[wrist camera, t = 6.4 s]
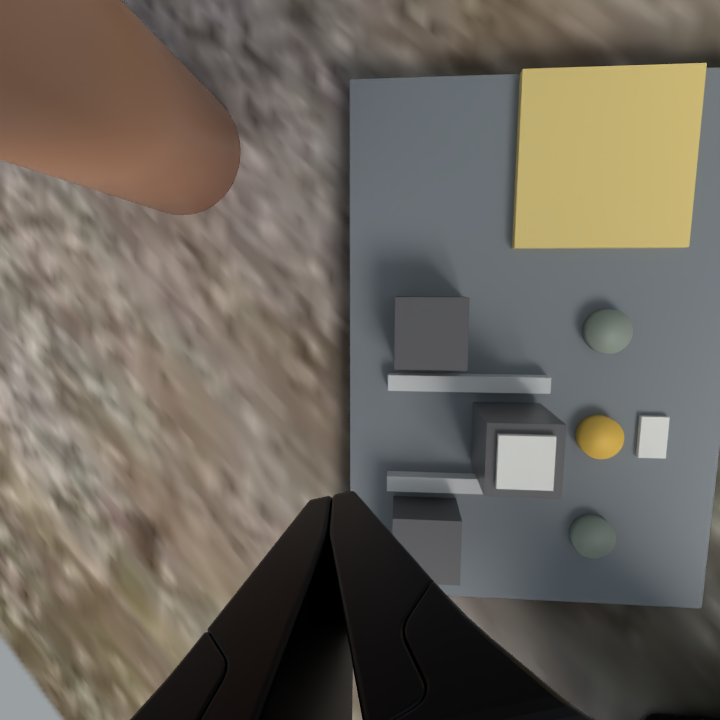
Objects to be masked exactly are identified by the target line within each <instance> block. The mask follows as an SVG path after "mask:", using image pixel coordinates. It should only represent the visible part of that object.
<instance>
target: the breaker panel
mask: <svg viewBox="0 0 720 720" xmlns="http://www.w3.org/2000/svg"><path fill="white" fill-rule="evenodd" d="M706 67H707V63H687V64H657V65H626V66H596V67H565V68H534V69H522V71H521V73H520V74H500V75H469V76H438V77H406V78H375V79H350V491H354V492H356V493H357V494H358V496H359V497H360V498H361V499H362V500H363V501H364V502H365V503H366V505H367V506H368V507H369V508H370V509H371V510H372V511H373V513H374V514H375V515H376V516H377V517H378V518H379V519H380V520H381V522H382V523H383V524H384V525H385V526H386V527H387V528H388V529H389V531H390V532H391V533H392V534H393V535H394V536H395V537H396V539H397V540H398V541H399V542H400V543H401V544H402V545H403V546H404V548H405V549H406V550H407V551H408V552H409V553H410V554H411V556H412V557H413V558H414V559H415V560H416V561H417V562H418V563H419V565H420V566H421V567H422V568H423V569H424V570H425V571H426V572H427V574H428V575H429V576H430V577H431V578H432V579H433V580H434V583H436V584H437V585H438V586H439V587H440V588H441V589H442V590H443V591H444V593H445V594H446V595H447V596H465V597H484V598H504V599H524V600H544V601H564V602H583V603H603V604H623V605H643V606H662V607H682V608H702V600H703V591H704V582H705V573H706V564H707V555H708V546H709V537H710V528H711V519H712V510H713V501H714V492H715V483H716V474H717V466H718V457H719V448H720V67H719V68H706ZM473 402H511V403H541V404H542V405H543V406H544V407H546V408H547V409H548V410H549V411H550V412H552V413H553V414H554V415H555V416H557V417H558V418H559V419H560V420H561V421H563V422H564V423H565V424H566V441H565V457H564V472H563V488H562V499H548V498H519V497H490V496H484V495H483V493H482V490H481V488H480V485H479V483H478V480H477V478H476V475H475V473H474V470H473V468H472V465H471V454H472V426H473Z"/></svg>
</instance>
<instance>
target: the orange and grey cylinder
mask: <svg viewBox="0 0 720 720" xmlns="http://www.w3.org/2000/svg"><path fill="white" fill-rule="evenodd" d="M0 159H1V160H4V161H7V162H10V163H13V164H16V165H19V166H22V167H25V168H29V169H32V170H35V171H38V172H41V173H44V174H47V175H50V176H53V177H57V178H60V179H63V180H66V181H69V182H72V183H75V184H78V185H82V186H85V187H88V188H91V189H94V190H97V191H100V192H103V193H106V194H110V195H113V196H116V197H119V198H122V199H125V200H128V201H131V202H134V203H138V204H141V205H144V206H147V207H150V208H153V209H156V210H159V211H163V212H166V213H170V214H175V215H189V214H194V213H198V212H201V211H204V210H206V209H208V208H210V207H211V206H213V205H214V204H216V203H217V202H218V201H219V200H220V199H221V198H222V197H223V196H224V195H225V194H226V193H227V191H228V190H229V189H230V187H231V185H232V184H233V182H234V179H235V177H236V175H237V171H238V168H239V162H240V141H239V136H238V132H237V129H236V126H235V124H234V122H233V120H232V118H231V116H230V114H229V113H228V111H227V110H226V108H225V107H224V106H223V105H222V104H221V103H220V102H219V101H218V100H217V98H216V97H215V96H214V95H213V94H212V93H211V92H210V91H209V90H208V89H207V88H206V87H205V86H204V85H203V84H202V83H201V82H200V81H199V80H198V79H197V78H196V77H195V76H194V75H193V74H192V73H191V72H190V71H189V70H188V69H187V68H186V67H185V65H184V64H183V63H182V62H181V61H180V60H179V59H178V58H177V57H176V56H175V55H174V54H173V53H172V52H171V51H170V50H169V49H168V48H167V47H166V46H165V45H164V44H163V43H162V42H161V41H160V40H159V39H158V38H157V37H156V36H155V35H154V34H153V32H152V31H151V30H150V29H149V28H148V27H147V26H146V25H145V24H144V23H143V22H142V21H141V20H140V19H139V18H138V17H137V16H136V15H135V14H134V13H133V12H132V11H131V10H130V9H129V8H128V7H127V6H126V5H125V4H124V3H123V2H122V1H121V0H0Z"/></svg>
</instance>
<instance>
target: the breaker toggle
mask: <svg viewBox="0 0 720 720" xmlns="http://www.w3.org/2000/svg"><path fill="white" fill-rule="evenodd" d="M565 441H566V424H565V423H564V422H563V421H561V420H560V419H559V418H558V417H557V416H555V415H554V414H553V413H552V412H550V411H549V410H548V409H547V408H546V407H544V406H543V405H542V404H541V403H511V402H473V426H472V454H471V465H472V468H473V470H474V473H475V475H476V478H477V480H478V483H479V485H480V488H481V490H482V493H483V495H484V496H490V497H519V498H548V499H562V488H563V472H564V457H565Z"/></svg>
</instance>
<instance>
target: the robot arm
mask: <svg viewBox="0 0 720 720" xmlns="http://www.w3.org/2000/svg"><path fill="white" fill-rule="evenodd" d="M353 670H354V675H355V681H356V686H357V691H358V697H359V702H360V708H361V713H362V719H363V720H595V719H593V718H591V717H589V716H588V715H586V714H584V713H583V712H581V711H580V710H578V709H577V708H576V707H574V706H573V705H571V704H570V703H569V702H568V701H566V700H565V699H564V698H563V697H561V696H560V695H559V694H558V693H556V692H555V691H554V690H553V689H552V688H551V687H549V686H548V685H547V684H546V683H545V682H543V681H542V680H541V679H540V678H539V677H537V676H536V675H535V674H534V673H533V672H531V671H530V670H529V669H528V668H527V667H525V666H524V665H523V664H522V663H521V662H519V661H518V660H517V659H516V658H515V657H513V656H512V655H511V654H510V653H509V652H507V651H506V650H505V649H504V648H503V647H501V646H500V645H499V644H498V643H497V642H495V641H494V640H493V639H492V638H491V637H490V636H489V635H487V634H486V633H485V632H484V631H483V630H482V629H481V628H480V627H478V626H477V625H476V624H475V623H474V622H473V621H472V620H471V619H469V618H468V617H467V616H466V615H465V614H464V613H463V612H462V611H461V609H460V608H459V607H458V606H457V605H456V604H455V603H454V602H453V601H452V600H451V599H450V598H449V597H448V596H447V595H446V594H445V593H444V591H443V590H442V589H441V588H440V587H439V586H438V585H437V584H436V583H434V580H433V579H432V578H431V577H430V576H429V575H428V574H427V572H426V571H425V570H424V569H423V568H422V567H421V566H420V565H419V563H418V562H417V561H416V560H415V559H414V558H413V557H412V556H411V554H410V553H409V552H408V551H407V550H406V549H405V548H404V546H403V545H402V544H401V543H400V542H399V541H398V540H397V539H396V537H395V536H394V535H393V534H392V533H391V532H390V531H389V529H388V528H387V527H386V526H385V525H384V524H383V523H382V522H381V520H380V519H379V518H378V517H377V516H376V515H375V514H374V513H373V511H372V510H371V509H370V508H369V507H368V506H367V505H366V503H365V502H364V501H363V500H362V499H361V498H360V497H359V496H358V494H357V493H356V492H354V491H349V492H344V493H340V494H336V495H334V496H333V498H331V497H330V496H326V497H322V498H317V499H313V500H310V501H309V502H308V503H307V504H306V506H305V507H304V508H303V509H302V511H301V512H300V513H299V514H298V516H297V517H296V518H295V519H294V521H293V522H292V523H291V524H290V526H289V527H288V528H287V530H286V531H285V532H284V533H283V535H282V536H281V537H280V538H279V540H278V541H277V542H276V543H275V545H274V546H273V547H272V548H271V550H270V551H269V552H268V553H267V555H266V556H265V557H264V559H263V560H262V561H261V562H260V564H259V565H258V566H257V567H256V569H255V570H254V571H253V572H252V574H251V575H250V576H249V577H248V579H247V580H246V581H245V582H244V584H243V585H242V586H241V588H240V589H239V590H238V591H237V593H236V594H235V595H234V596H233V598H232V599H231V600H230V601H229V603H228V604H227V605H226V606H225V608H224V609H223V610H222V611H221V613H220V614H219V615H218V617H217V618H216V619H215V620H214V622H213V623H212V624H211V625H210V627H209V628H208V632H205V633H204V634H203V635H202V636H201V638H200V639H199V640H198V641H197V643H196V644H195V645H194V646H193V648H192V649H191V650H190V652H189V653H188V654H187V655H186V656H185V658H184V659H183V660H182V661H181V662H180V664H179V665H178V666H177V667H176V668H175V670H174V671H173V672H172V673H171V674H170V676H169V677H168V678H167V679H166V680H165V682H164V683H163V684H162V685H161V686H160V687H159V688H158V689H157V690H156V692H155V693H154V694H153V695H152V696H151V697H150V698H149V699H148V700H147V702H146V703H145V704H144V705H143V706H142V707H141V708H140V709H139V710H138V712H137V713H136V714H135V715H134V716H133V717H132V718H131V719H130V720H352V688H353ZM645 720H720V718H708V717H693V716H678V715H663V714H651V715H649V716H647V717H646V718H645Z"/></svg>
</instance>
